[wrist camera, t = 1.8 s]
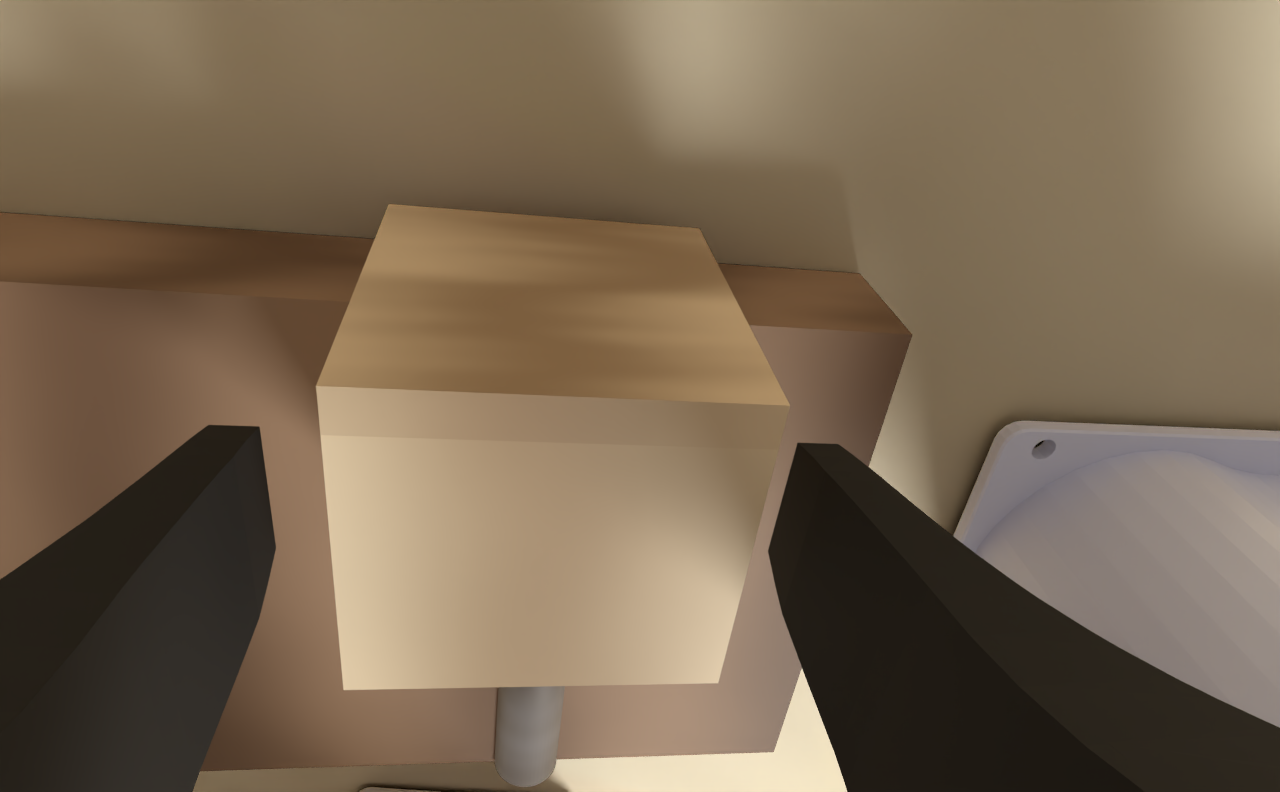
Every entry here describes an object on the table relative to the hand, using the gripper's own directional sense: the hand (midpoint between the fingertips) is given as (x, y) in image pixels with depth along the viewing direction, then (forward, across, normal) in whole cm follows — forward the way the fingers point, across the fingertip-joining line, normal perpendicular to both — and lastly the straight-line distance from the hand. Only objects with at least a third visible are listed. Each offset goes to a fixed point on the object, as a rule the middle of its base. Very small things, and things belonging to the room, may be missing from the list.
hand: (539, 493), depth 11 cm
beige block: (+4, 0, +1) cm, 4 cm away
